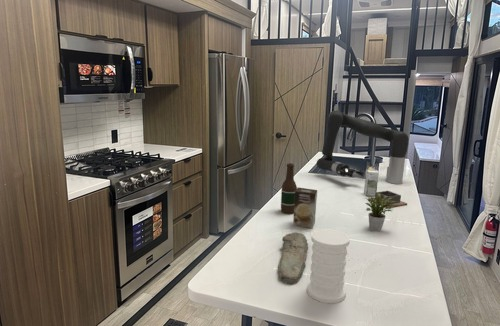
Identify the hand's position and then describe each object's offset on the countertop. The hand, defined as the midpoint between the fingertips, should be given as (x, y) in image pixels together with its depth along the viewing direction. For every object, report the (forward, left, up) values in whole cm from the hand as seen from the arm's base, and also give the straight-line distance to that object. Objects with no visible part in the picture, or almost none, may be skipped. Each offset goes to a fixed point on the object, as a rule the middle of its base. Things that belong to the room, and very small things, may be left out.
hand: (357, 174), depth 212 cm
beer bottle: (+17, -58, -9) cm, 61 cm away
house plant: (+50, -34, -9) cm, 61 cm away
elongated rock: (+59, -81, -10) cm, 101 cm away
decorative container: (+81, -83, -9) cm, 116 cm away
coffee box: (+34, -60, -9) cm, 70 cm away
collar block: (+25, -1, -10) cm, 27 cm away
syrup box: (+11, 0, -9) cm, 15 cm away
